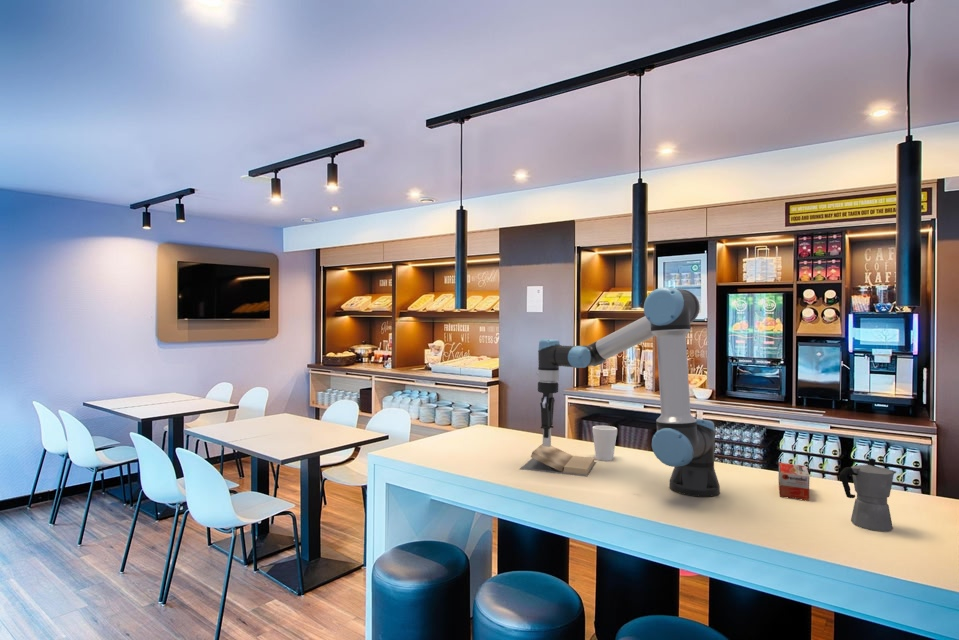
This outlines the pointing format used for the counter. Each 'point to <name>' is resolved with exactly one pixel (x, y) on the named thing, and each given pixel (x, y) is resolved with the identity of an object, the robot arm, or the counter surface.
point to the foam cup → (604, 442)
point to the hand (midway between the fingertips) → (546, 446)
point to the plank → (551, 457)
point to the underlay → (573, 467)
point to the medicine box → (793, 481)
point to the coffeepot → (870, 495)
